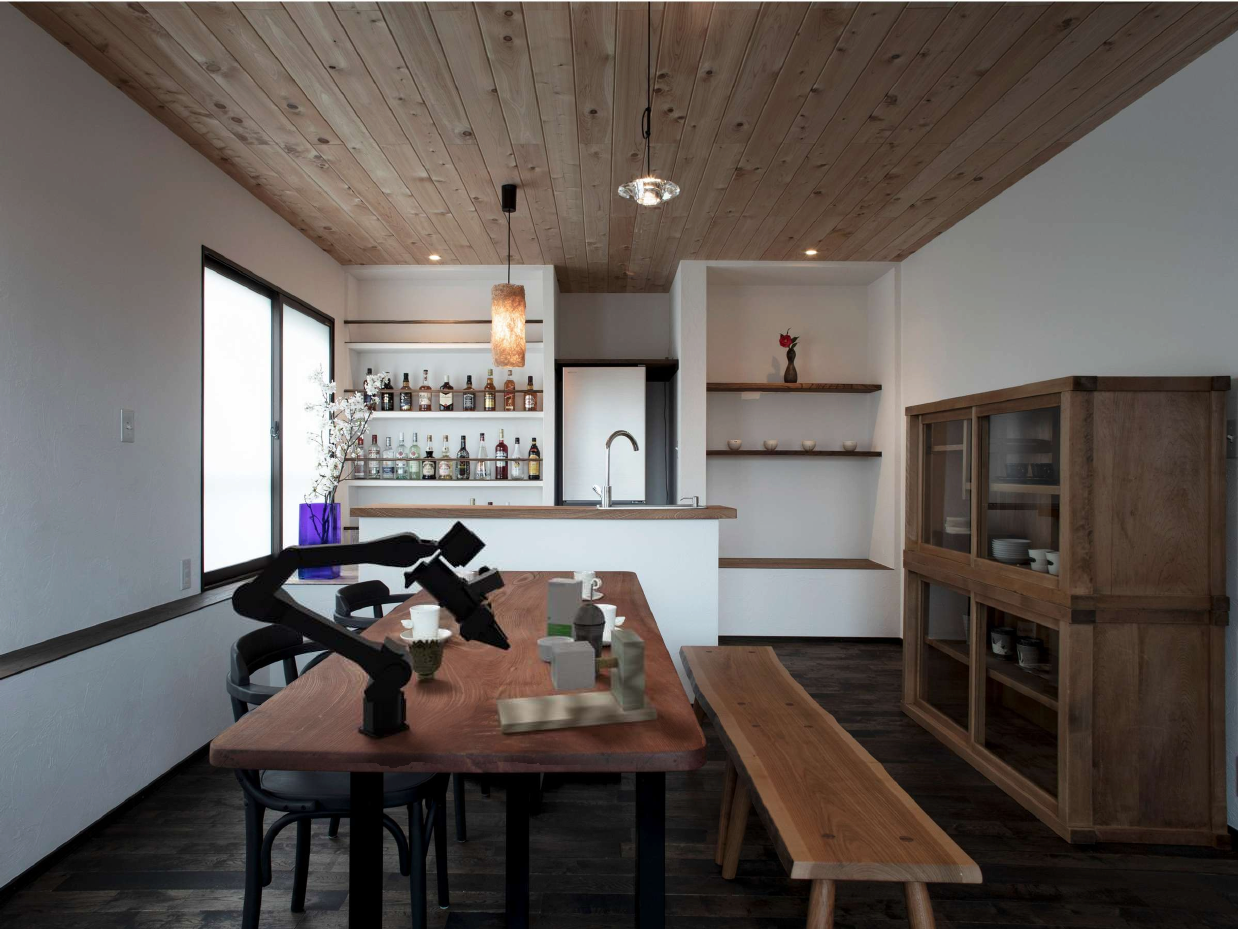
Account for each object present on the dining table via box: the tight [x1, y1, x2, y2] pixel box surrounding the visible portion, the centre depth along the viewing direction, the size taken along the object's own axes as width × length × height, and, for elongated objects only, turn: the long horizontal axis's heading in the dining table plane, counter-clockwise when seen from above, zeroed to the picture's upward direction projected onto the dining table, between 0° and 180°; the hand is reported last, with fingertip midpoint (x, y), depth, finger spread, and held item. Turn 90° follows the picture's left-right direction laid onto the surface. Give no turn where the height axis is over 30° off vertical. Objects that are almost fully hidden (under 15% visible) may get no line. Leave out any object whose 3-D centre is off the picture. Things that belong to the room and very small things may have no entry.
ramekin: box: [536, 636, 575, 663], centre depth 167 cm, size 9×9×4 cm
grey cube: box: [550, 641, 596, 692], centre depth 129 cm, size 7×7×7 cm
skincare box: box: [545, 577, 584, 641], centre depth 187 cm, size 8×7×16 cm
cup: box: [408, 638, 445, 682], centre depth 149 cm, size 8×7×8 cm
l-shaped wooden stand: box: [496, 628, 658, 734], centre depth 129 cm, size 28×13×14 cm, turn 104°
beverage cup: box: [573, 583, 606, 678], centre depth 154 cm, size 7×7×20 cm
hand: (507, 644), depth 126 cm, fingers open, 5 cm apart
